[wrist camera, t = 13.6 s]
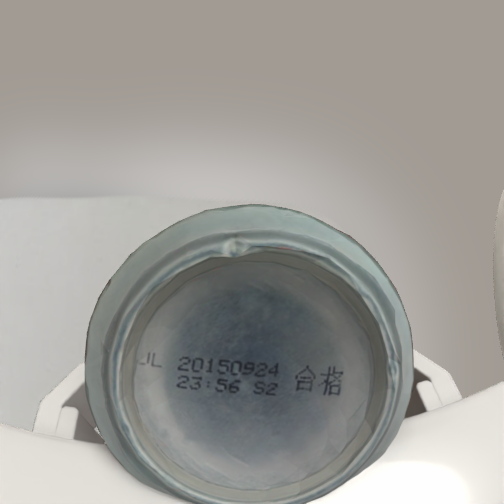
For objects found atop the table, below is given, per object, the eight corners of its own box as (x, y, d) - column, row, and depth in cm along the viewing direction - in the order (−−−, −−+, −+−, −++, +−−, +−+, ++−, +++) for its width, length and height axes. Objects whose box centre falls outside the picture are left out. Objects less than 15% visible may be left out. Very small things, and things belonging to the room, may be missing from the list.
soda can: (301, 398, 17) (417, 510, 5) (174, 399, 16) (89, 527, 4) (300, 274, 18) (425, 195, 6) (172, 274, 17) (71, 189, 5)
